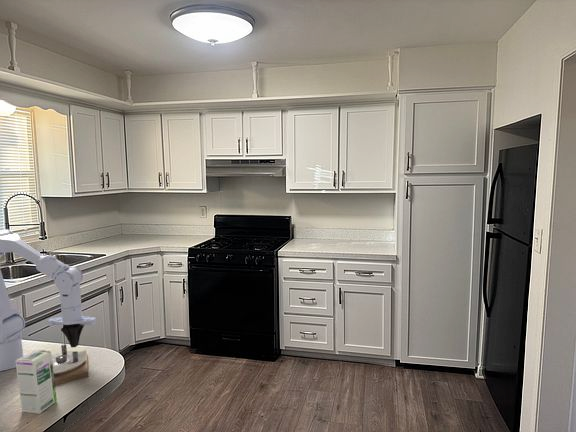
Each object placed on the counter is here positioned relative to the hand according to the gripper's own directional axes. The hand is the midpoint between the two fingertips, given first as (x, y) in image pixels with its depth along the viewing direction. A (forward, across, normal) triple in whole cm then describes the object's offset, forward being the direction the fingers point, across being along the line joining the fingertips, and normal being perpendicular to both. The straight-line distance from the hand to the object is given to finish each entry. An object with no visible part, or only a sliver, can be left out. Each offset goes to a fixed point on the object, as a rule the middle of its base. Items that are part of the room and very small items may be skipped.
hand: (74, 346), depth 125 cm
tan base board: (+6, +2, +5) cm, 8 cm away
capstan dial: (+4, +2, +5) cm, 6 cm away
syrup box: (+6, -3, +24) cm, 25 cm away
